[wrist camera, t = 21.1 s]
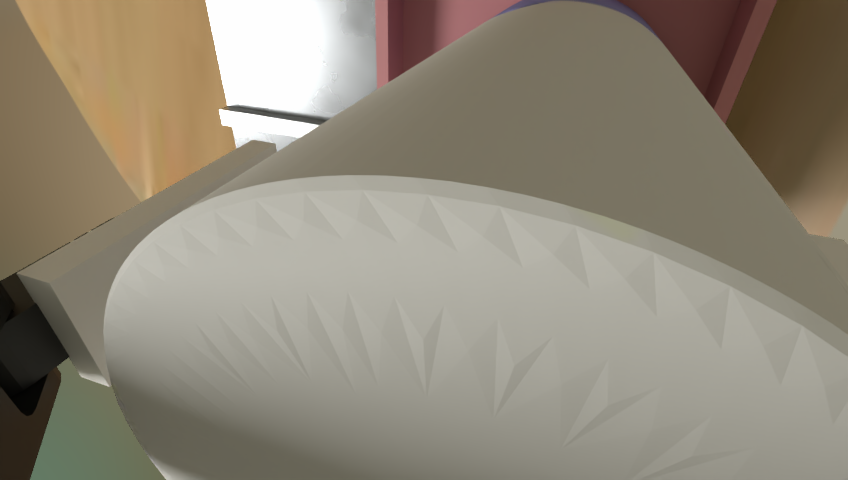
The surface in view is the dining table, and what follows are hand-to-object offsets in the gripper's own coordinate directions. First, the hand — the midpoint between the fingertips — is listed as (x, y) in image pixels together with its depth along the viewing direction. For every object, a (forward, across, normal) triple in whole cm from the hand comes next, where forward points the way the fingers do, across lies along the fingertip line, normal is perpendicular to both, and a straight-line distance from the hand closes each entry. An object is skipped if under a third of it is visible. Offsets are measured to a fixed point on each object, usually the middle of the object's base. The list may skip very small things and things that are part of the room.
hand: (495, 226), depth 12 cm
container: (+12, +1, 0) cm, 12 cm away
